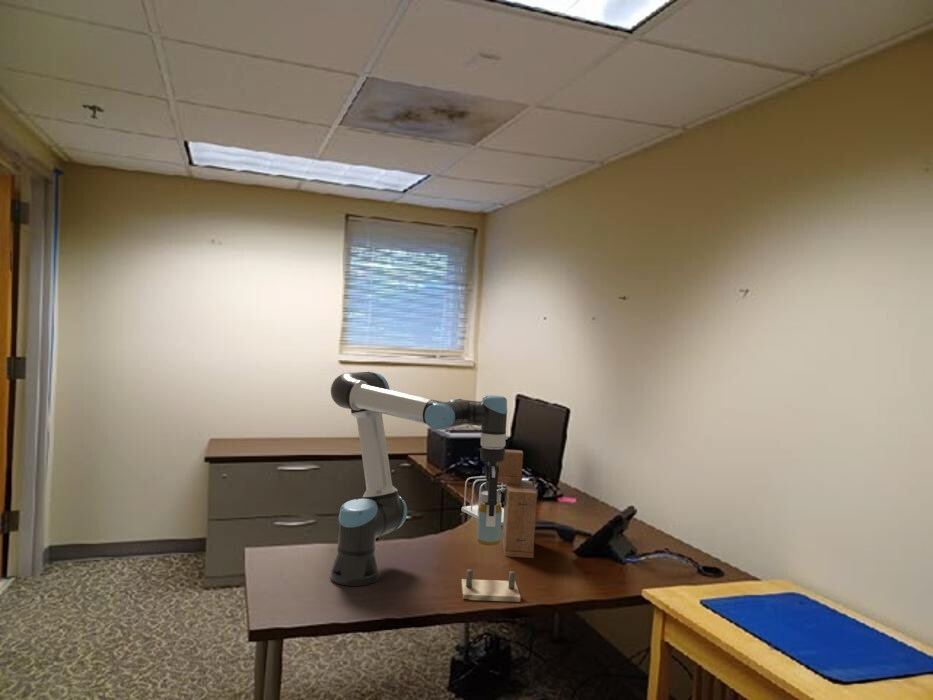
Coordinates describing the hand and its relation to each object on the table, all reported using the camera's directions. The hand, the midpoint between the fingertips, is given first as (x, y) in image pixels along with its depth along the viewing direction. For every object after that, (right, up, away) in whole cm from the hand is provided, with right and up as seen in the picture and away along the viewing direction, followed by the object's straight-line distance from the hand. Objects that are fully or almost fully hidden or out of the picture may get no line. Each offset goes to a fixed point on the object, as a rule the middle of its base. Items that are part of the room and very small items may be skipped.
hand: (489, 522), depth 192 cm
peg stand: (0, -22, +1) cm, 22 cm away
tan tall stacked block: (+11, -22, +45) cm, 51 cm away
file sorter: (+5, -21, +84) cm, 87 cm away
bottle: (0, -6, 0) cm, 6 cm away
